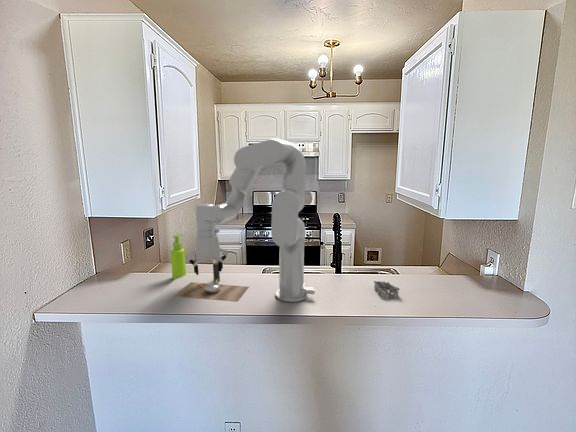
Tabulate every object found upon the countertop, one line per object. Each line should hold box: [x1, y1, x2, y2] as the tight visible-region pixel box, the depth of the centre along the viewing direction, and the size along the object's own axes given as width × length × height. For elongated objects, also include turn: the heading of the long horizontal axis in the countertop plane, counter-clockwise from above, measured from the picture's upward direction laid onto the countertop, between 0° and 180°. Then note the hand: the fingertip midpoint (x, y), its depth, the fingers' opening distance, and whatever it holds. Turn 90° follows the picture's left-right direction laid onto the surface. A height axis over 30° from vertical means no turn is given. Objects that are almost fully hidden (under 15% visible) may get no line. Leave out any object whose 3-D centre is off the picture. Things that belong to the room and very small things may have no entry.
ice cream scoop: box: [205, 262, 221, 294], centre depth 124 cm, size 15×6×7 cm, turn 5°
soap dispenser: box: [170, 233, 187, 280], centre depth 138 cm, size 6×7×20 cm
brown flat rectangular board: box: [173, 282, 250, 303], centre depth 120 cm, size 26×14×2 cm, turn 79°
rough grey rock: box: [373, 280, 400, 299], centre depth 122 cm, size 11×8×4 cm
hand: (208, 272), depth 129 cm, fingers open, 9 cm apart
